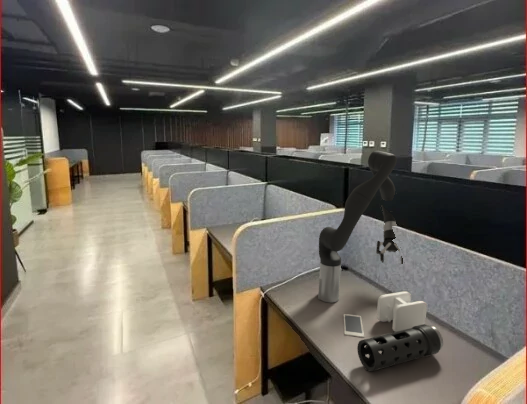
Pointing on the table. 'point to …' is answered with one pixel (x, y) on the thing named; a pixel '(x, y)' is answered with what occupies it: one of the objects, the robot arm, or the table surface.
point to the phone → (353, 325)
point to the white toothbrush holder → (401, 310)
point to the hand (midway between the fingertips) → (392, 263)
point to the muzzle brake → (399, 347)
